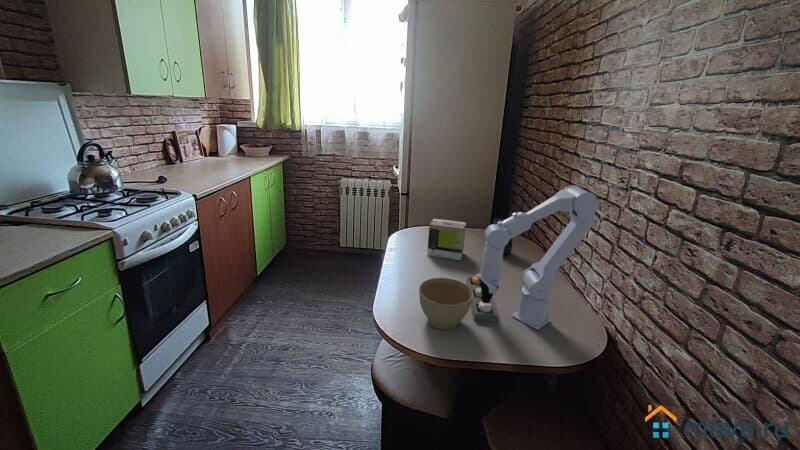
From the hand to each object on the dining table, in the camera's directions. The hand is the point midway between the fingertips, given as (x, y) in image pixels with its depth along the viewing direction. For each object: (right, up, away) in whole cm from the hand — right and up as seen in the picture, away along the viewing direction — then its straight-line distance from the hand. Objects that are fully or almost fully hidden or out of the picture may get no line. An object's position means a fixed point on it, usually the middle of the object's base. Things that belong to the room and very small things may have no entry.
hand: (485, 302), depth 114 cm
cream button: (0, -3, +1) cm, 3 cm away
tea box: (-7, +11, +46) cm, 48 cm away
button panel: (0, -2, +10) cm, 10 cm away
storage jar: (+19, +12, +52) cm, 56 cm away
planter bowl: (-14, -5, -3) cm, 15 cm away
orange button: (+1, +3, +18) cm, 18 cm away
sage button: (+1, 0, +9) cm, 9 cm away
